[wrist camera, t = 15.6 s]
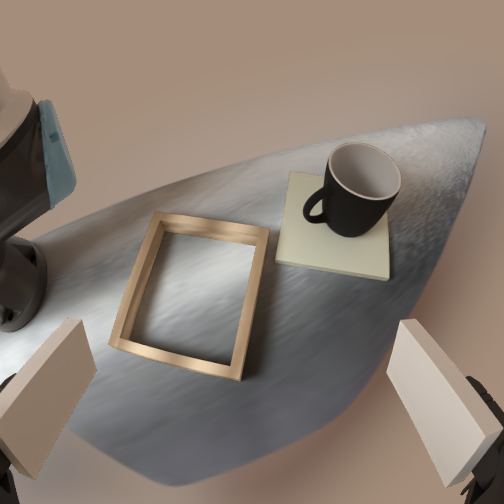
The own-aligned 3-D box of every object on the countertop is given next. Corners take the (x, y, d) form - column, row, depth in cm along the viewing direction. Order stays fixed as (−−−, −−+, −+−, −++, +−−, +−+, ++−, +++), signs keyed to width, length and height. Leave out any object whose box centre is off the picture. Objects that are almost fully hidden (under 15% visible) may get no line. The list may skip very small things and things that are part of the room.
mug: (355, 186, 44) (373, 136, 35) (387, 233, 40) (416, 188, 31) (283, 209, 42) (290, 156, 33) (314, 264, 38) (331, 219, 29)
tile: (274, 263, 39) (275, 259, 38) (289, 175, 46) (290, 170, 45) (386, 281, 38) (389, 278, 37) (383, 192, 45) (385, 188, 44)
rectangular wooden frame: (117, 349, 34) (108, 344, 31) (160, 222, 42) (155, 211, 40) (240, 381, 32) (239, 379, 30) (268, 239, 41) (269, 228, 38)
